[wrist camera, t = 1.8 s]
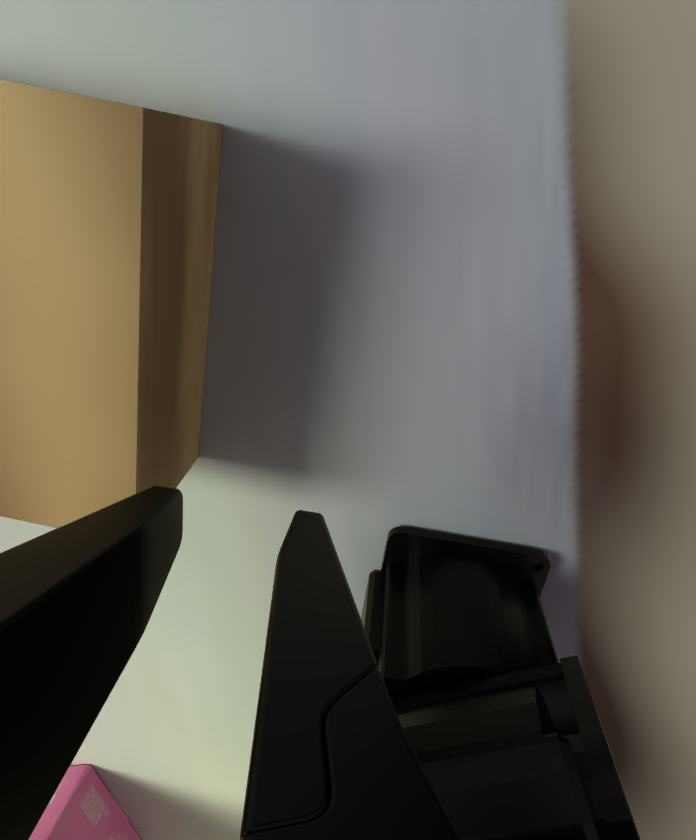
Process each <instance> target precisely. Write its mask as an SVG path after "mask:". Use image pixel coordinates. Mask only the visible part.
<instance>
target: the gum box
mask: <svg viewBox="0 0 696 840" xmlns="http://www.w3.org/2000/svg"><path fill="white" fill-rule="evenodd" d="M29 840H141V838H140V837H139V835H138V834H137V832H136V831H135V829H134V828H133V826H132V825H131V824H130V822H129V820H128V818H127V816H126V815H125V813H124V811H123V810H122V809H121V807H120V806H119V804H118V803H117V801H116V799H115V798H114V797H113V796H112V794H111V793H110V792H109V791H108V789H107V788H106V786H105V785H104V783H103V782H102V781H101V779H100V778H99V776H98V775H97V773H96V772H95V770H94V769H93V767H92V766H91V765H77V766H69V768H68V770H67V772H66V774H65V775H64V777H63V779H62V781H61V783H60V784H59V786H58V788H57V790H56V792H55V793H54V795H53V797H52V799H51V800H50V802H49V804H48V806H47V808H46V809H45V811H44V813H43V815H42V817H41V818H40V820H39V822H38V824H37V826H36V827H35V829H34V831H33V833H32V835H31V836H30V838H29Z"/></svg>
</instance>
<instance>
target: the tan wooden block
mask: <svg viewBox="0 0 696 840" xmlns="http://www.w3.org/2000/svg"><path fill="white" fill-rule="evenodd" d="M222 129H223V125H222V124H218V123H213V122H208V121H203V120H199V119H194V118H189V117H185V116H180V115H175V114H170V113H166V112H161V111H156V110H151V109H147V108H142V107H137V106H132V105H127V104H122V103H117V102H112V101H107V100H102V99H97V98H92V97H87V96H82V95H76V94H71V93H66V92H61V91H56V90H51V89H46V88H41V87H36V86H31V85H26V84H21V83H16V82H11V81H6V80H1V79H0V516H3V517H7V518H12V519H17V520H22V521H26V522H31V523H36V524H40V525H45V526H50V527H54V528H59V527H61V526H64V525H66V524H68V523H71V522H73V521H75V520H77V519H80V518H82V517H84V516H86V515H89V514H91V513H93V512H95V511H98V510H100V509H102V508H105V507H107V506H109V505H111V504H114V503H116V502H118V501H120V500H123V499H125V498H127V497H130V496H132V495H134V494H136V493H139V492H141V491H143V490H145V489H148V488H150V487H152V486H163V487H169V488H176V487H177V486H178V484H179V483H180V482H181V480H182V479H183V477H184V476H185V475H186V473H187V472H188V471H189V469H190V468H191V466H192V465H193V464H194V462H195V461H196V460H197V458H198V454H199V440H200V427H201V413H202V400H203V386H204V373H205V359H206V346H207V332H208V319H209V305H210V291H211V278H212V264H213V251H214V237H215V224H216V210H217V197H218V183H219V170H220V156H221V143H222Z"/></svg>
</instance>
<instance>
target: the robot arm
mask: <svg viewBox="0 0 696 840" xmlns="http://www.w3.org/2000/svg"><path fill="white" fill-rule="evenodd" d="M182 531H183V497H182V493H181V491H180V490H179V489H175V488H169V487H163V486H152V487H150V488H148V489H145V490H143V491H141V492H139V493H136V494H134V495H132V496H130V497H127V498H125V499H123V500H120V501H118V502H116V503H114V504H111V505H109V506H107V507H105V508H102V509H100V510H98V511H95V512H93V513H91V514H89V515H86V516H84V517H82V518H80V519H77V520H75V521H73V522H71V523H68V524H66V525H64V526H61V527H59V528H57V529H55V530H52V531H50V532H48V533H46V534H43V535H41V536H39V537H36V538H34V539H32V540H30V541H27V542H25V543H23V544H21V545H18V546H16V547H14V548H11V549H9V550H7V551H5V552H2V553H0V840H29V838H30V836H31V835H32V833H33V831H34V829H35V827H36V826H37V824H38V822H39V820H40V818H41V817H42V815H43V813H44V811H45V809H46V808H47V806H48V804H49V802H50V800H51V799H52V797H53V795H54V793H55V792H56V790H57V788H58V786H59V784H60V783H61V781H62V779H63V777H64V775H65V774H66V772H67V770H68V768H69V766H70V765H71V763H72V761H73V759H74V757H75V756H76V754H77V752H78V750H79V749H80V747H81V745H82V743H83V741H84V740H85V738H86V736H87V734H88V732H89V731H90V729H91V727H92V725H93V723H94V722H95V720H96V718H97V716H98V714H99V713H100V711H101V709H102V707H103V706H104V704H105V702H106V700H107V698H108V697H109V695H110V693H111V691H112V689H113V688H114V686H115V684H116V682H117V680H118V679H119V677H120V675H121V673H122V671H123V670H124V668H125V666H126V664H127V663H128V661H129V659H130V657H131V655H132V654H133V652H134V650H135V648H136V646H137V644H138V642H139V641H140V639H141V637H142V635H143V633H144V631H145V628H146V626H147V624H148V622H149V619H150V617H151V615H152V612H153V610H154V607H155V605H156V603H157V600H158V598H159V595H160V593H161V591H162V588H163V586H164V583H165V581H166V579H167V576H168V574H169V571H170V569H171V567H172V564H173V562H174V559H175V557H176V555H177V552H178V550H179V547H180V544H181V540H182ZM397 538H403V539H404V540H405V541H403V542H397V541H396V540H395V539H397ZM534 562H541V563H540V564H538V565H531V564H532V563H534ZM549 570H550V563H549V560H548V557H547V555H546V554H545V553H544V552H542V551H539V550H534V549H528V548H522V547H516V546H510V545H504V544H499V543H493V542H487V541H481V540H475V539H469V538H464V537H458V536H452V535H446V534H440V533H434V532H429V531H423V530H417V529H411V528H405V527H396V528H393V529H392V530H390V531H389V534H388V537H387V542H386V547H385V552H384V557H383V562H382V567H381V570H376V569H375V570H374V571H372V572H371V573H370V574H369V579H368V584H367V590H366V595H365V600H364V606H363V611H362V616H361V618H360V615H359V613H358V610H357V607H356V604H355V602H354V599H353V596H352V593H351V591H350V588H349V585H348V583H347V580H346V577H345V574H344V572H343V569H342V566H341V563H340V561H339V558H338V555H337V553H336V550H335V547H334V544H333V542H332V539H331V536H330V534H329V531H328V528H327V525H326V523H325V520H324V517H323V516H322V515H321V514H320V513H314V512H308V511H302V510H299V511H297V512H296V513H295V515H294V517H293V519H292V522H291V524H290V527H289V529H288V531H287V534H286V536H285V539H284V541H283V544H282V546H281V548H280V551H279V554H278V558H277V563H276V569H275V577H274V584H273V592H272V600H271V607H270V615H269V622H268V630H267V637H266V645H265V652H264V660H263V668H262V675H261V683H260V690H259V698H258V705H257V713H256V720H255V728H254V735H253V743H252V751H251V758H250V766H249V773H248V781H247V788H246V796H245V803H244V811H243V819H242V826H241V834H240V840H640V837H639V833H638V830H637V828H636V825H635V822H634V819H633V816H632V813H631V810H630V807H629V804H628V801H627V798H626V795H625V793H624V790H623V787H622V784H621V781H620V778H619V775H618V772H617V769H616V766H615V763H614V760H613V758H612V754H611V751H610V749H609V746H608V743H607V740H606V737H605V734H604V732H603V729H602V726H601V723H600V720H599V717H598V714H597V711H596V708H595V706H594V703H593V700H592V697H591V694H590V691H589V688H588V686H587V683H586V680H585V677H584V674H583V671H582V668H581V666H580V663H579V660H578V657H577V656H572V657H567V658H562V659H560V663H558V660H557V657H556V653H555V650H554V646H553V643H552V640H551V636H550V633H549V630H548V626H547V623H546V619H545V616H544V613H543V609H542V606H541V603H540V599H539V597H540V595H541V592H542V589H543V586H544V583H545V581H546V578H547V575H548V572H549Z"/></svg>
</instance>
